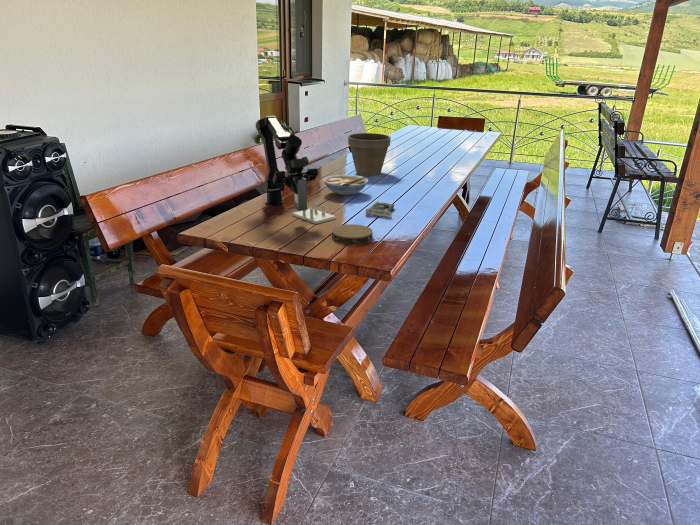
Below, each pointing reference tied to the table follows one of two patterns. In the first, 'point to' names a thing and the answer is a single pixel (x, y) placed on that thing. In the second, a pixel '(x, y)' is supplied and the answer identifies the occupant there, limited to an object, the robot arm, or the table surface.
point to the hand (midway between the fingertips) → (301, 193)
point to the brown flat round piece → (352, 234)
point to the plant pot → (368, 152)
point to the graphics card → (380, 210)
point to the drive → (300, 194)
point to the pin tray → (314, 215)
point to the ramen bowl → (345, 184)
